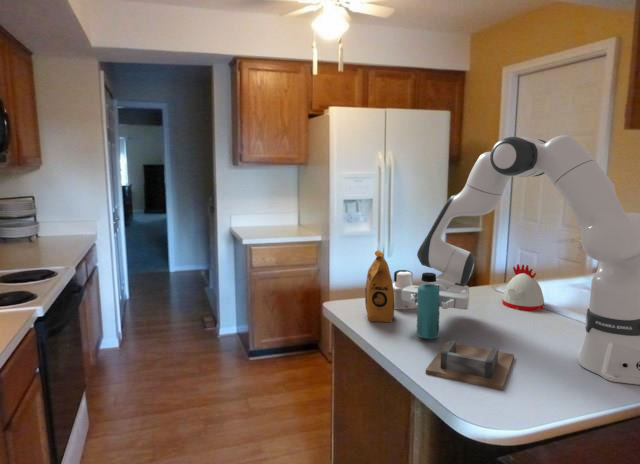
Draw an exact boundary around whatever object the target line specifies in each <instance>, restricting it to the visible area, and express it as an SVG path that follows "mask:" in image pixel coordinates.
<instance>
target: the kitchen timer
mask: <svg viewBox="0 0 640 464" xmlns="http://www.w3.org/2000/svg"><path fill="white" fill-rule="evenodd" d="M512 269H513V272H514V275H515V276H513V277H512V278H511V279H510V280H509V281H508V282H507V285H506V287H505V290H504V291H503V294H502V299H501V303H502V305H503V306H505V307H507V308H510V309H514V310H518V311H527V312H528V311H529V312H536V311H541V310H543V309H544V308H543V306H544V307H545V298H544V295H543V290H542V287H541V286H540V284H539V282H538V281H537V279H536V278H535V277H536V275H537V272H535V273H533V268H531V269H529V265H528V264H526V266H525V264H522V265H521V267H520V264H519V263H517V265H516V266H513V267H512ZM532 273H533V274H532Z"/></svg>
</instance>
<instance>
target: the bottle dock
mask: <svg viewBox="0 0 640 464" xmlns="http://www.w3.org/2000/svg"><path fill="white" fill-rule="evenodd" d="M514 356H515V354H512V353H507V352H503V351H499V347H494V346H492V347H491V349H486V348H481V347H476V346H470V345H469V346H468V345H463V344H460V343H457V339H450V340H449V341H448V342H447V341H445V343H444V344H443V346H442V347H441V348H440V350H439V351H438V352H437V354H436V355H435V356H434V358H433V359H432V360H431V361H430V363H429V364H428V366H427V367H426V368H425V374H427V375H432V376H436V377H441V378H446V379H449V380H454V381H458V382H463V383H467V384H473V385H477V386H482V387H485V388H491V389H495V390H500V391H503V390H504V388H505V385H506V383H507V379H508V376H509V374H510V370H511V367H512V364H513V361H514V358H515V357H514Z"/></svg>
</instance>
